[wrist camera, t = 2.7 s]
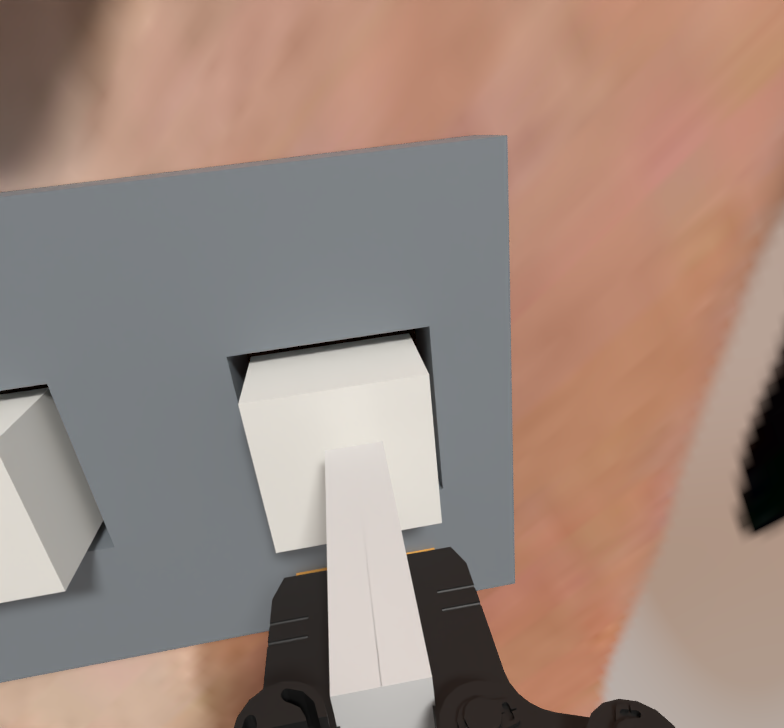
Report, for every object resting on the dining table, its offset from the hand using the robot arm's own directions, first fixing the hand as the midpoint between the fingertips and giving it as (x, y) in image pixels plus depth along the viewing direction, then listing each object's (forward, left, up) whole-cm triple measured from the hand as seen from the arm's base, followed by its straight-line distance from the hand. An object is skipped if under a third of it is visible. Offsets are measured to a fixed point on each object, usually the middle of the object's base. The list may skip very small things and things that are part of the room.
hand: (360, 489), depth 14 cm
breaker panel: (-6, 0, -6) cm, 8 cm away
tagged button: (0, 0, -4) cm, 4 cm away
